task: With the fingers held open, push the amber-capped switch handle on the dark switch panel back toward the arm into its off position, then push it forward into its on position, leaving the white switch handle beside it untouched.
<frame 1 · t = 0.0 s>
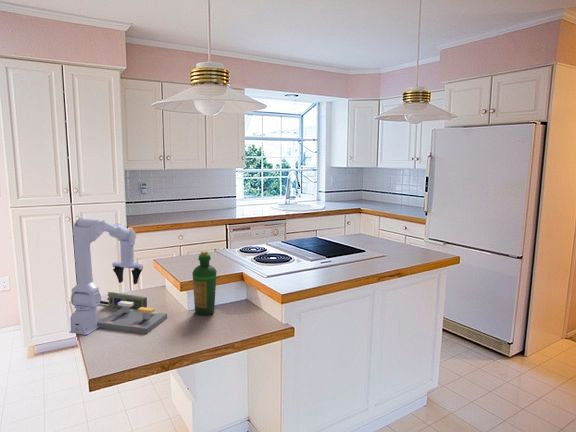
hand: (128, 283, 185), 10 cm above the table, tool pointing down, fingers open, 7 cm apart
amber switch: (146, 313, 165), point 5 cm above the table, slide at 4.0 cm
handheld radio: (122, 308, 182), on the table
switch panel: (133, 322, 167), on the table
white switch: (125, 307, 171), point 5 cm above the table, slide at 8.0 cm
bottle: (204, 312, 179), on the table
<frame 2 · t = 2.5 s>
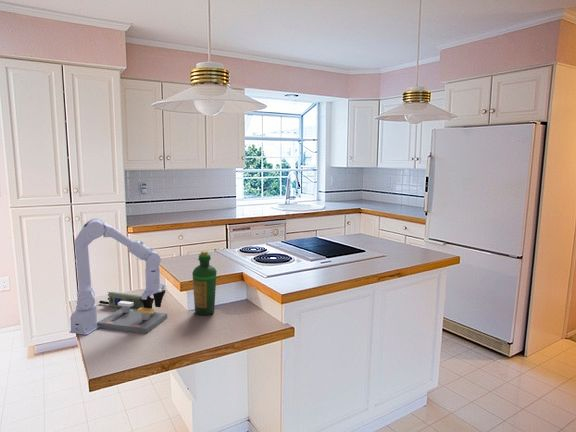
hand: (153, 310, 170), 4 cm above the table, tool pointing down, fingers open, 7 cm apart
amber switch: (145, 314, 164), point 5 cm above the table, slide at 3.5 cm, touching gripper
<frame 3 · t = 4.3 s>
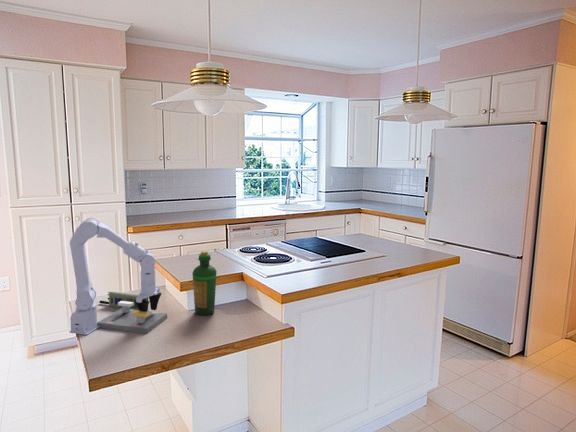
hand: (148, 313, 167), 4 cm above the table, tool pointing down, fingers open, 7 cm apart
amber switch: (140, 317, 161), point 5 cm above the table, slide at -0.1 cm, touching gripper
everything else where it was.
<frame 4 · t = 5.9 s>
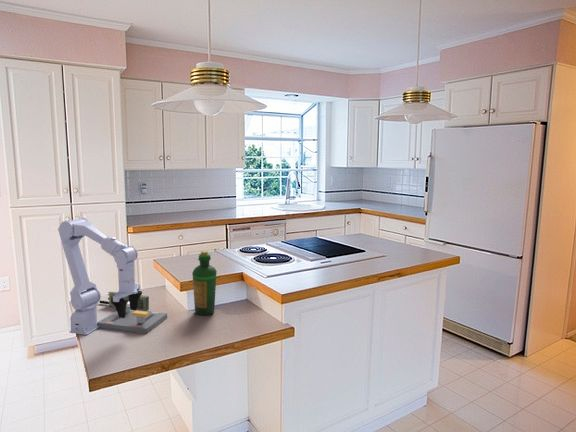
hand: (127, 313, 152), 9 cm above the table, tool pointing down, fingers open, 7 cm apart
amber switch: (140, 317, 161), point 5 cm above the table, slide at 0.0 cm
everything else where it was.
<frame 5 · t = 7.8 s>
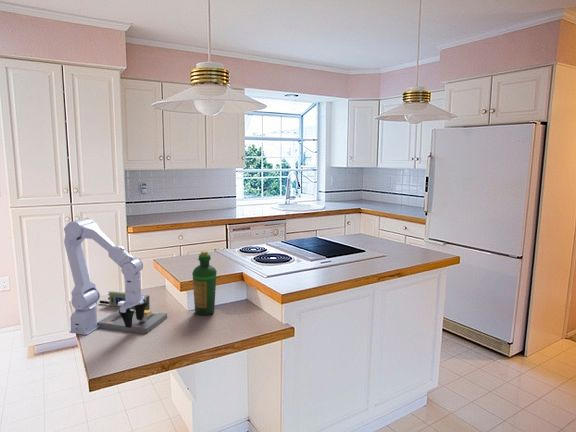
hand: (134, 323, 157), 4 cm above the table, tool pointing down, fingers open, 7 cm apart
amber switch: (142, 315, 162), point 5 cm above the table, slide at 1.5 cm, touching gripper
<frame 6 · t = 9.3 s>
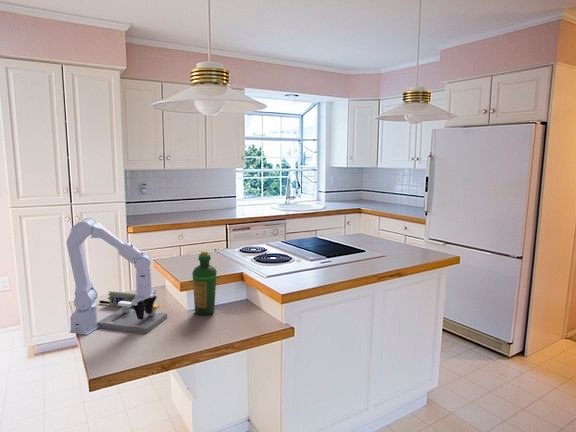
hand: (144, 316, 164), 4 cm above the table, tool pointing down, fingers open, 6 cm apart
amber switch: (151, 309, 169), point 5 cm above the table, slide at 8.1 cm, touching gripper
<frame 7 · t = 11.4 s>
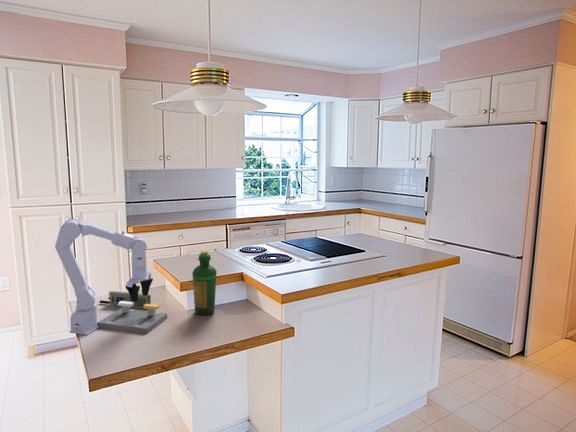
hand: (140, 298, 167), 10 cm above the table, tool pointing down, fingers open, 7 cm apart
amber switch: (151, 310, 169), point 5 cm above the table, slide at 8.0 cm
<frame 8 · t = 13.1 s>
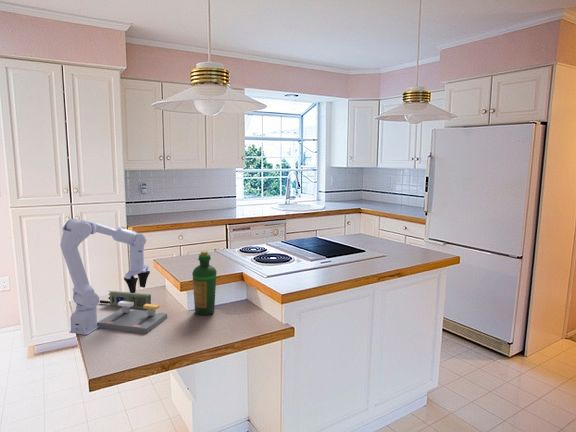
hand: (137, 289, 176), 10 cm above the table, tool pointing down, fingers open, 7 cm apart
at the end: amber switch slide at 8.0 cm; white switch slide at 8.0 cm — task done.
